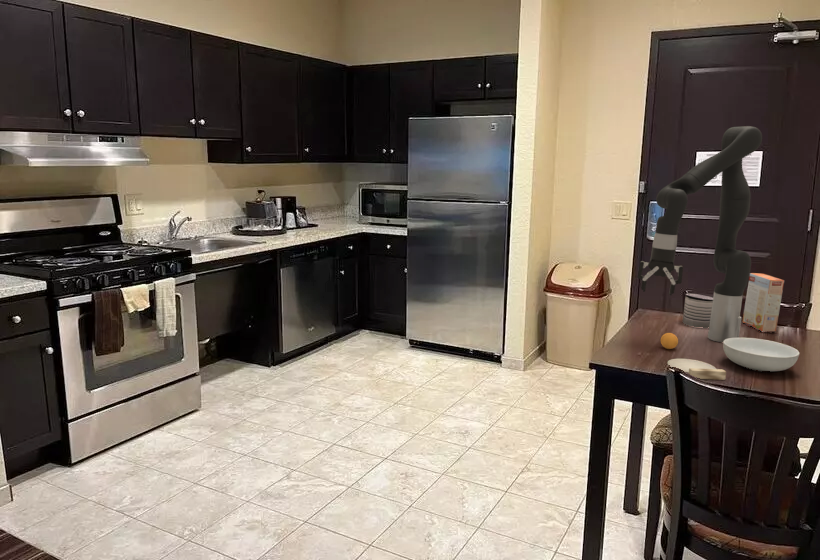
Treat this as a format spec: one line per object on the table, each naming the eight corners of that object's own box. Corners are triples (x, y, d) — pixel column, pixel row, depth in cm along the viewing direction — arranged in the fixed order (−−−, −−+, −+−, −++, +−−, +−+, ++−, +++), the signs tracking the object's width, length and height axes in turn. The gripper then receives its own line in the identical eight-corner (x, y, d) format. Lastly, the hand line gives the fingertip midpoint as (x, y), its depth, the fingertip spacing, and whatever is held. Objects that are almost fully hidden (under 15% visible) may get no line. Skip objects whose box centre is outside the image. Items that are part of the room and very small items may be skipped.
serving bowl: (781, 360, 198) (784, 340, 196) (807, 382, 178) (811, 360, 176) (713, 353, 202) (715, 333, 201) (730, 374, 182) (734, 352, 181)
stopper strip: (721, 377, 179) (722, 369, 179) (725, 379, 177) (726, 371, 177) (688, 376, 179) (689, 368, 179) (691, 378, 177) (692, 370, 177)
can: (675, 321, 242) (679, 292, 240) (699, 320, 245) (703, 291, 243) (695, 329, 231) (699, 299, 229) (720, 328, 234) (724, 298, 232)
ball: (674, 346, 208) (676, 331, 207) (678, 351, 202) (680, 336, 201) (658, 345, 209) (660, 330, 208) (661, 350, 203) (663, 334, 202)
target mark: (709, 361, 193) (709, 360, 193) (722, 376, 180) (722, 375, 180) (663, 357, 196) (663, 356, 196) (673, 371, 182) (673, 371, 182)
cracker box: (776, 333, 229) (785, 280, 225) (760, 333, 229) (769, 279, 225) (756, 323, 243) (764, 272, 239) (741, 323, 243) (749, 272, 239)
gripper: (686, 248, 207) (678, 294, 210) (642, 243, 212) (635, 288, 215) (687, 250, 200) (679, 298, 203) (641, 245, 205) (634, 291, 208)
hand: (656, 293), depth 209 cm, fingers open, 8 cm apart
